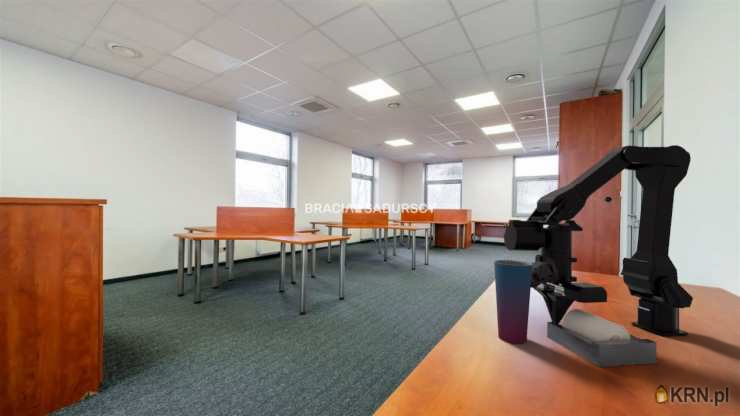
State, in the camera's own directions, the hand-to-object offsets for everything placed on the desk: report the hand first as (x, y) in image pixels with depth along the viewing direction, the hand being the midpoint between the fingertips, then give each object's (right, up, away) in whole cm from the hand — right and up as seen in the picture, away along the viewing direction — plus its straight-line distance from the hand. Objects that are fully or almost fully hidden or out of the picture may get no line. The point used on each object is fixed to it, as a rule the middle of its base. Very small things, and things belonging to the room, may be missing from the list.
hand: (555, 323), depth 63 cm
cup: (-12, -1, -6) cm, 14 cm away
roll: (+1, -1, -9) cm, 9 cm away
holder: (+1, -1, -9) cm, 9 cm away
